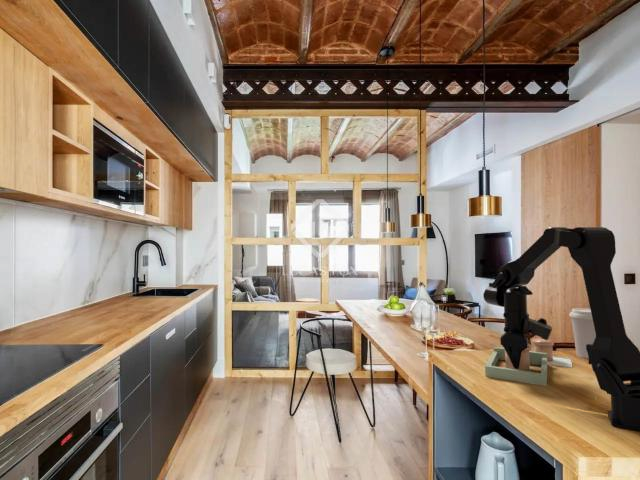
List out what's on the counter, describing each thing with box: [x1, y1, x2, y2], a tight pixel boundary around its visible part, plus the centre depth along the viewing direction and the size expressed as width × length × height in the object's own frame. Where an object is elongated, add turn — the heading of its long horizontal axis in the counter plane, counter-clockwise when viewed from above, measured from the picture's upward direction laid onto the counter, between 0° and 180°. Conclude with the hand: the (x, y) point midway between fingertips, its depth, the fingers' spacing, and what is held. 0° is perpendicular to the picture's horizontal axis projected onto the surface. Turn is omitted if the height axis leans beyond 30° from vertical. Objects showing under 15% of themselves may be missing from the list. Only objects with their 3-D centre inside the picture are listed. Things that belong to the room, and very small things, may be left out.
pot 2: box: [532, 337, 555, 361], centre depth 109 cm, size 6×6×6 cm
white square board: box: [547, 355, 573, 369], centre depth 108 cm, size 10×12×1 cm
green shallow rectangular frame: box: [484, 346, 548, 387], centre depth 99 cm, size 18×14×4 cm
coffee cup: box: [569, 307, 596, 360], centre depth 110 cm, size 10×10×15 cm
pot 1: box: [504, 343, 532, 372], centre depth 99 cm, size 7×7×7 cm
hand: (517, 365), depth 99 cm, fingers open, 6 cm apart
